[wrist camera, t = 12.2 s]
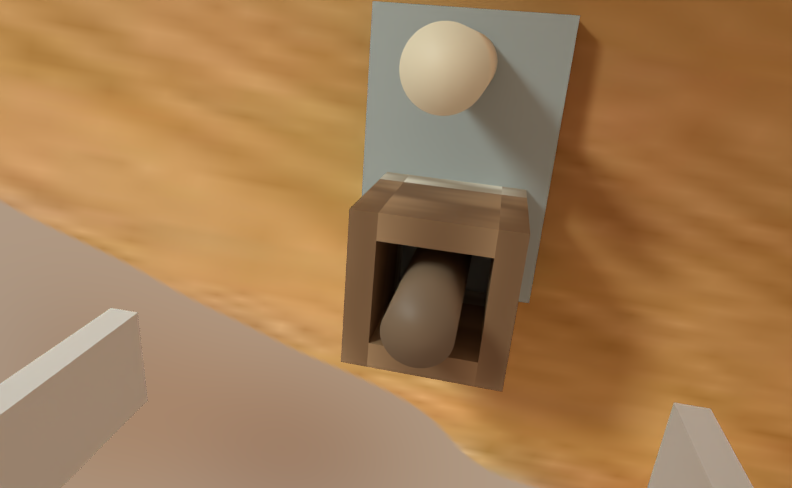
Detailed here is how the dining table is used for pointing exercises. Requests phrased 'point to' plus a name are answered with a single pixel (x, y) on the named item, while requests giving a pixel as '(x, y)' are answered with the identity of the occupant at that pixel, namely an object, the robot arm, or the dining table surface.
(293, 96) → the dining table surface
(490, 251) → the brown open cube
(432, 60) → the pin stand
